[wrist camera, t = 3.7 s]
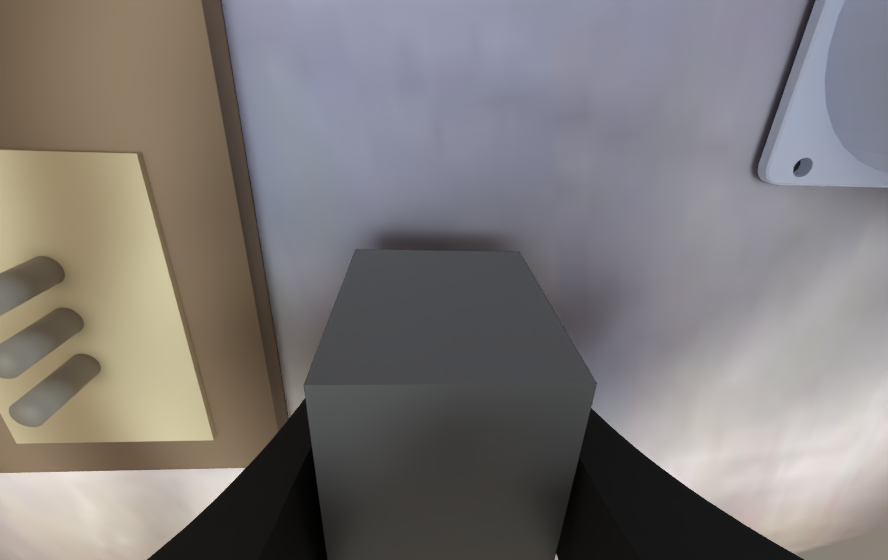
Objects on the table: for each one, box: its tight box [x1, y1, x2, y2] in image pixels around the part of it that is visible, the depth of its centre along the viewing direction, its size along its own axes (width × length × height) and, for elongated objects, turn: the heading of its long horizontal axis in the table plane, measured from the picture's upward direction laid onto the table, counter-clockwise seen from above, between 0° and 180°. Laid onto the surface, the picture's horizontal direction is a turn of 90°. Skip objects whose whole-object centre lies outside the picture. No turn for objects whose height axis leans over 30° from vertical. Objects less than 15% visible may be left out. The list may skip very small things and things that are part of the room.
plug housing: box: [304, 249, 597, 560], centre depth 9 cm, size 4×7×5 cm, turn 178°
